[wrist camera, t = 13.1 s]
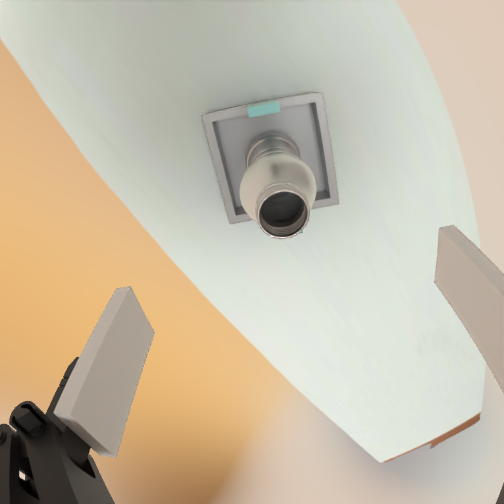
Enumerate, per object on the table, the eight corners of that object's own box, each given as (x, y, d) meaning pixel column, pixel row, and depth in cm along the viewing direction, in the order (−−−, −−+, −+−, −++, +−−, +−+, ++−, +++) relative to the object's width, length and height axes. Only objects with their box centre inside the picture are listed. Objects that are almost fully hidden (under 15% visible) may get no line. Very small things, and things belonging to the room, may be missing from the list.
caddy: (206, 113, 37) (191, 121, 29) (316, 92, 36) (334, 93, 27) (232, 212, 44) (225, 246, 35) (332, 193, 43) (351, 223, 34)
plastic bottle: (308, 150, 39) (350, 205, 21) (275, 189, 41) (289, 273, 24) (267, 119, 37) (276, 146, 19) (235, 161, 40) (216, 225, 22)
